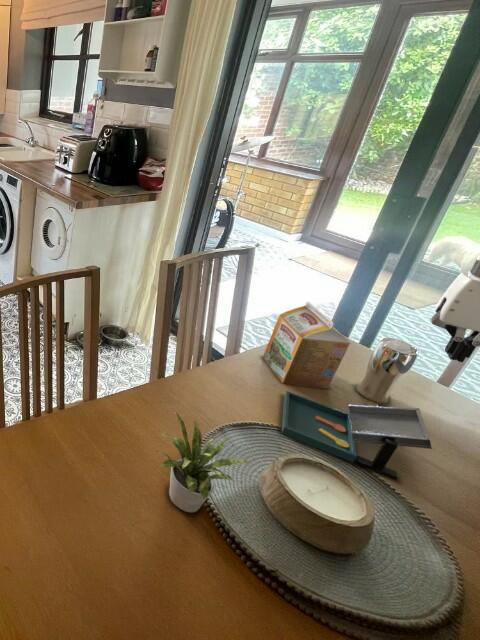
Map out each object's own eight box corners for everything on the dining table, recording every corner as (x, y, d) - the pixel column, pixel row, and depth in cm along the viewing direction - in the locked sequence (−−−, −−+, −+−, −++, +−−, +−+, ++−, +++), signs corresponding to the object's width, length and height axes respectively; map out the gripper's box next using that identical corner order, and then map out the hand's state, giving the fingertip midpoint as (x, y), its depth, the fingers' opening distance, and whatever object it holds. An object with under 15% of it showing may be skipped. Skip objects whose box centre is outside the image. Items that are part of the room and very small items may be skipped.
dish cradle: (386, 434, 91) (401, 409, 88) (396, 480, 81) (414, 453, 78) (350, 421, 94) (364, 396, 91) (356, 463, 84) (372, 437, 81)
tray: (348, 420, 95) (351, 414, 94) (353, 462, 84) (357, 456, 83) (284, 396, 101) (286, 390, 100) (281, 433, 91) (284, 427, 90)
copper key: (346, 429, 92) (347, 427, 91) (344, 434, 90) (345, 433, 90) (316, 415, 95) (316, 414, 95) (314, 420, 94) (315, 419, 94)
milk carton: (327, 388, 104) (358, 325, 96) (282, 383, 106) (309, 321, 98) (303, 361, 114) (330, 302, 106) (262, 357, 115) (285, 299, 107)
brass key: (350, 446, 87) (351, 444, 87) (345, 450, 86) (346, 448, 86) (321, 428, 92) (321, 426, 92) (316, 431, 91) (317, 430, 91)
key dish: (421, 416, 85) (419, 408, 84) (432, 449, 77) (430, 439, 77) (349, 412, 92) (347, 404, 92) (353, 441, 85) (351, 432, 84)
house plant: (121, 473, 81) (137, 412, 74) (175, 452, 86) (194, 393, 79) (178, 544, 69) (203, 479, 62) (237, 516, 74) (266, 453, 67)
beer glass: (347, 387, 104) (372, 339, 98) (365, 382, 106) (391, 334, 100) (379, 407, 98) (408, 357, 92) (398, 401, 100) (427, 352, 94)
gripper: (560, 278, 72) (504, 362, 79) (438, 257, 80) (398, 335, 87) (581, 294, 66) (519, 383, 74) (449, 270, 75) (405, 352, 82)
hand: (454, 357), depth 81 cm, fingers closed
